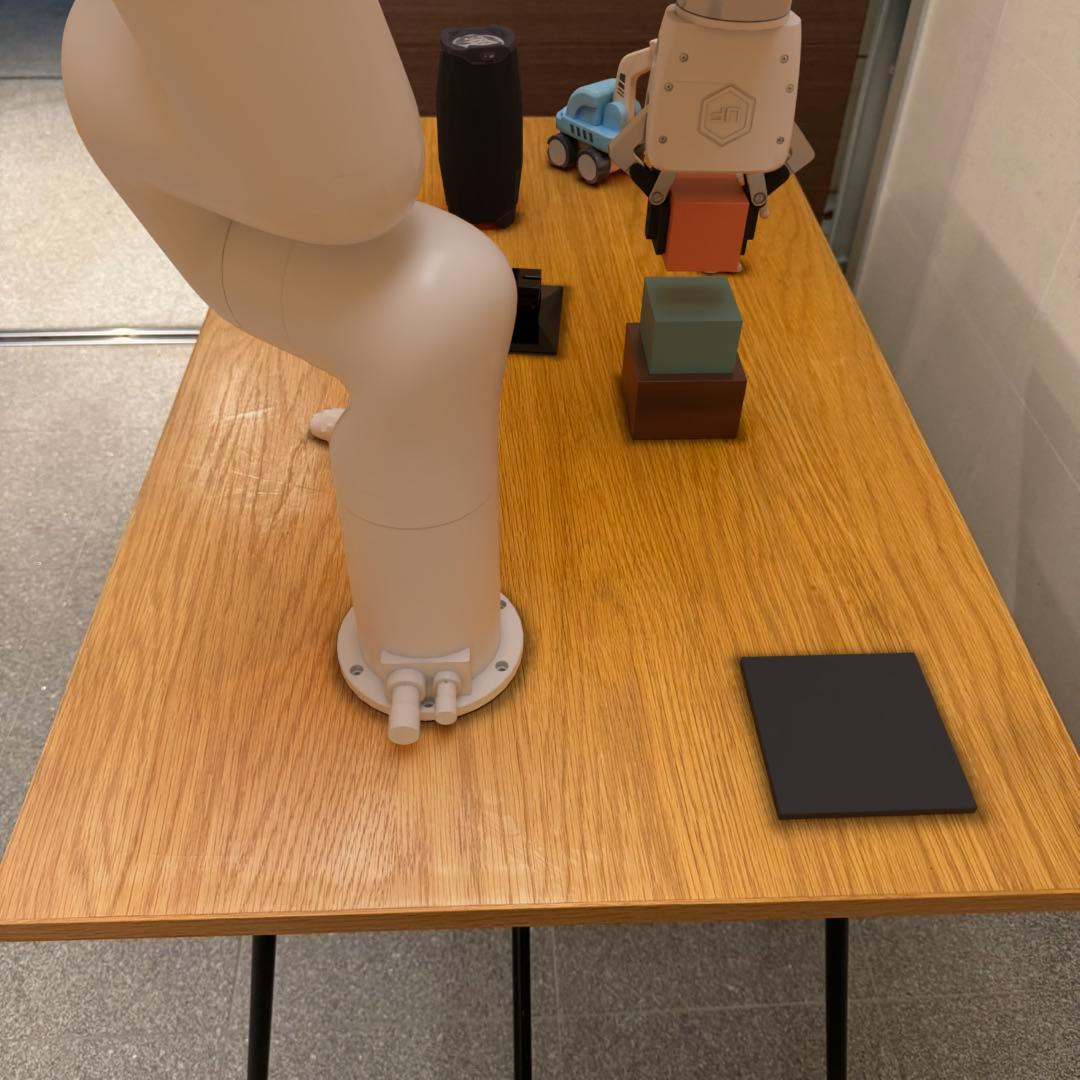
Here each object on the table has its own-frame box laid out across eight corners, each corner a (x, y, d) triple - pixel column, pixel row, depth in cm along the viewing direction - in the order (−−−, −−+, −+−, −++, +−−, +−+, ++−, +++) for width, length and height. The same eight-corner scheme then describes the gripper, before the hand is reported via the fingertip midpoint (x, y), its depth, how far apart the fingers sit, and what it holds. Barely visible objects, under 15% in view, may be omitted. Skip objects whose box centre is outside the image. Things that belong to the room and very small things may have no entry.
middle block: (733, 373, 82) (743, 320, 79) (649, 374, 82) (655, 321, 79) (718, 327, 87) (726, 275, 84) (639, 328, 87) (644, 276, 84)
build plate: (556, 357, 94) (558, 314, 91) (480, 353, 95) (478, 310, 92) (563, 288, 103) (565, 247, 100) (493, 285, 104) (492, 243, 100)
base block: (736, 438, 86) (747, 380, 82) (632, 439, 85) (638, 381, 81) (717, 377, 92) (727, 321, 88) (621, 378, 92) (626, 322, 88)
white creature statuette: (376, 383, 91) (362, 262, 82) (454, 414, 88) (448, 292, 79) (306, 437, 85) (284, 313, 76) (387, 472, 82) (372, 347, 73)
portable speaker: (427, 216, 114) (415, 33, 101) (488, 192, 119) (484, 14, 106) (477, 243, 110) (471, 55, 96) (538, 216, 115) (540, 34, 101)
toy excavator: (636, 208, 117) (650, 53, 105) (540, 162, 125) (543, 14, 114) (685, 187, 121) (703, 36, 109) (588, 144, 130) (596, 0, 118)
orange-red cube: (737, 272, 76) (749, 203, 73) (666, 271, 76) (674, 202, 72) (724, 238, 80) (735, 171, 77) (656, 238, 80) (664, 171, 76)
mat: (975, 812, 60) (978, 807, 60) (778, 819, 59) (780, 814, 59) (912, 657, 69) (914, 651, 68) (739, 662, 68) (741, 656, 68)
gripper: (610, 4, 62) (591, 270, 75) (880, 9, 63) (817, 271, 75) (599, -28, 68) (583, 224, 80) (847, -23, 69) (793, 226, 81)
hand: (697, 244), depth 78 cm, fingers closed on orange-red cube, 5 cm apart
